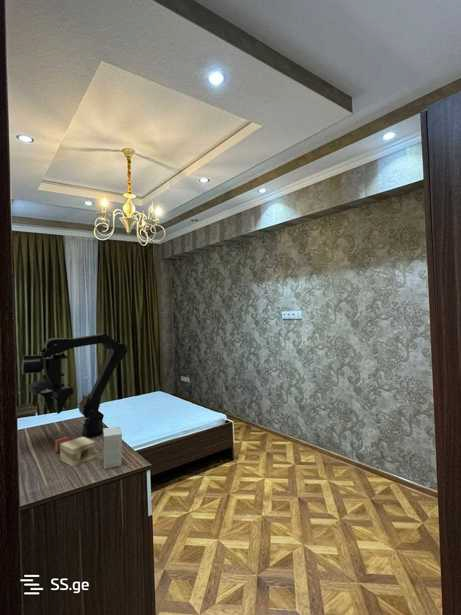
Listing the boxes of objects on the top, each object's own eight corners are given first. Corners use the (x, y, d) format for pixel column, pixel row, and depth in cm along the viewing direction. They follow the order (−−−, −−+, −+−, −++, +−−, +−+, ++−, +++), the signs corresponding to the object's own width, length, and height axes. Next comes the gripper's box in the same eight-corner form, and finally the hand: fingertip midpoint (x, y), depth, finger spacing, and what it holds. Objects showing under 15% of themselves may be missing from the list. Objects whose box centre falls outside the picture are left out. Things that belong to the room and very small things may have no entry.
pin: (66, 447, 118) (66, 436, 118) (85, 456, 110) (85, 444, 110) (55, 451, 114) (55, 440, 114) (73, 460, 107) (73, 448, 107)
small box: (102, 459, 109) (102, 428, 109) (120, 456, 111) (120, 425, 111) (103, 469, 102) (103, 436, 102) (121, 466, 104) (122, 433, 104)
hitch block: (82, 451, 115) (82, 436, 115) (95, 457, 110) (95, 441, 110) (60, 460, 108) (60, 443, 108) (72, 466, 104) (72, 449, 104)
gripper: (19, 372, 122) (19, 413, 122) (43, 377, 112) (43, 422, 111) (50, 367, 131) (50, 406, 131) (74, 372, 121) (74, 413, 120)
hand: (53, 411), depth 123 cm, fingers open, 7 cm apart
